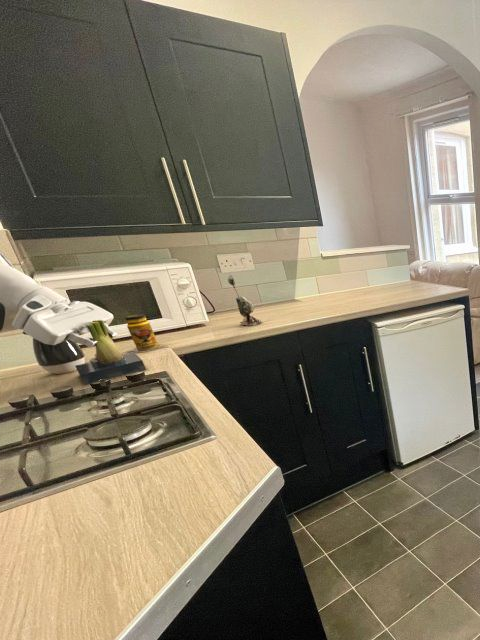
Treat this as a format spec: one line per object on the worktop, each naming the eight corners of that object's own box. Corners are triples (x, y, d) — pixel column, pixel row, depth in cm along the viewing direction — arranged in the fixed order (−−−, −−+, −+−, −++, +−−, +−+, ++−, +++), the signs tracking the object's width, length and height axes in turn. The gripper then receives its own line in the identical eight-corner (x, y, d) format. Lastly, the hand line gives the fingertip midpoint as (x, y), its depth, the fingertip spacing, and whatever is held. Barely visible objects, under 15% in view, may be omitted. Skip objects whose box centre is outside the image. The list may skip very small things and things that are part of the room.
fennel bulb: (108, 366, 114) (88, 324, 109) (94, 366, 115) (74, 323, 110) (130, 359, 119) (112, 318, 114) (116, 358, 120) (98, 318, 115)
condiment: (147, 351, 145) (133, 318, 140) (126, 351, 146) (111, 318, 141) (166, 345, 151) (153, 312, 146) (146, 344, 153) (132, 312, 148)
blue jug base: (84, 385, 119) (76, 368, 117) (79, 375, 126) (71, 360, 124) (146, 369, 128) (139, 354, 126) (138, 361, 135) (131, 347, 133)
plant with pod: (239, 329, 167) (222, 278, 159) (240, 322, 176) (224, 274, 168) (262, 325, 171) (247, 275, 163) (261, 319, 180) (247, 272, 172)
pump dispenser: (35, 376, 127) (8, 328, 121) (75, 364, 136) (52, 318, 130) (59, 378, 124) (33, 329, 118) (98, 365, 134) (76, 319, 127)
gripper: (75, 307, 119) (126, 337, 124) (5, 327, 101) (68, 362, 106) (85, 291, 118) (136, 322, 123) (15, 308, 99) (79, 344, 104)
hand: (104, 341), depth 114 cm, fingers closed on fennel bulb, 6 cm apart
